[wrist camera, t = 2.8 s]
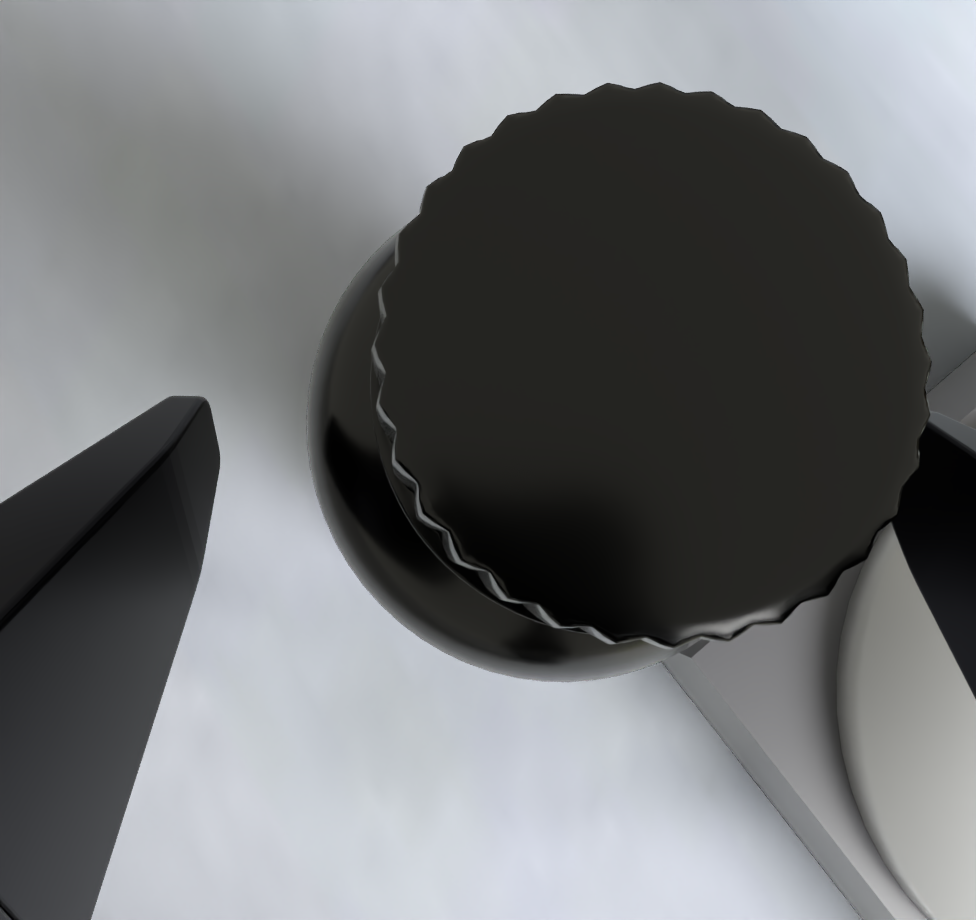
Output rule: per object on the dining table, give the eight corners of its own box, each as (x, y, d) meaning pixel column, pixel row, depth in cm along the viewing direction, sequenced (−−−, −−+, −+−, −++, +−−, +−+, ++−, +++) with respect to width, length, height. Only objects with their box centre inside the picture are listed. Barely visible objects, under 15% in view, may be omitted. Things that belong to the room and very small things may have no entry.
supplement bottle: (294, 502, 17) (20, 409, 5) (464, 290, 18) (567, -201, 6) (521, 672, 17) (778, 973, 5) (676, 451, 18) (1182, 278, 6)
